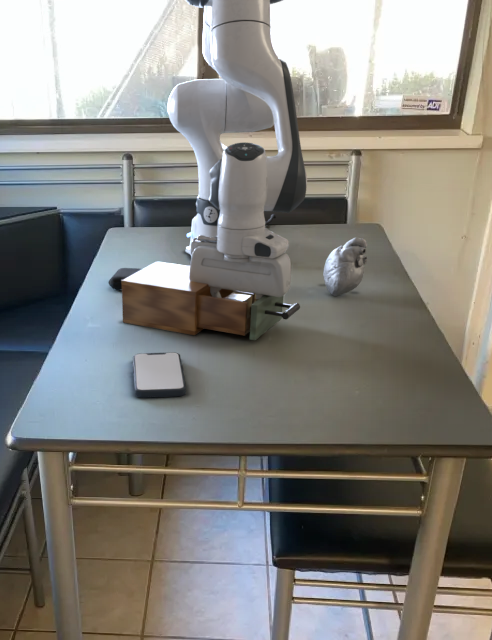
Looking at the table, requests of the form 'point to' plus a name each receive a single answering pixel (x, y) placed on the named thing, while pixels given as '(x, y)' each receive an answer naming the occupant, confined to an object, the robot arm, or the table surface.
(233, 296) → the bundle
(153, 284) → the cabinet
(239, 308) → the drawer
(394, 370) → the table surface
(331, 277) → the heart
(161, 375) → the smartphone
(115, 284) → the carrying case
